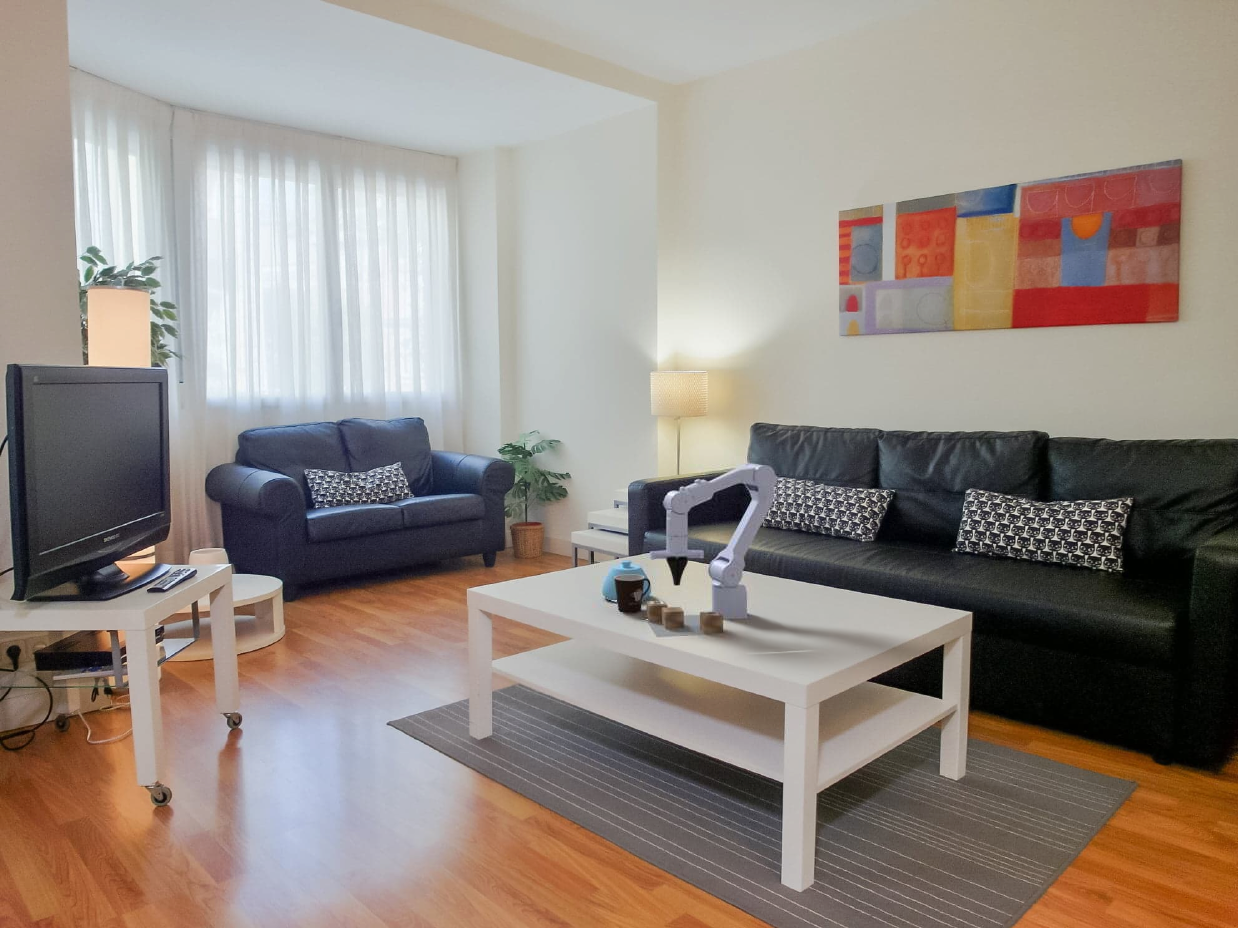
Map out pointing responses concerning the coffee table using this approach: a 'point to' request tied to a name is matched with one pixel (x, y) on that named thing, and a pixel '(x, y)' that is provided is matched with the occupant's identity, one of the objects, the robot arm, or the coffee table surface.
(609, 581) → the sugar bowl
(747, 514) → the robot arm
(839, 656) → the coffee table surface
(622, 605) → the coffee mug
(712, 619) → the labelled block
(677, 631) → the grey mat
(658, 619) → the labelled block
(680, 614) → the plain block
